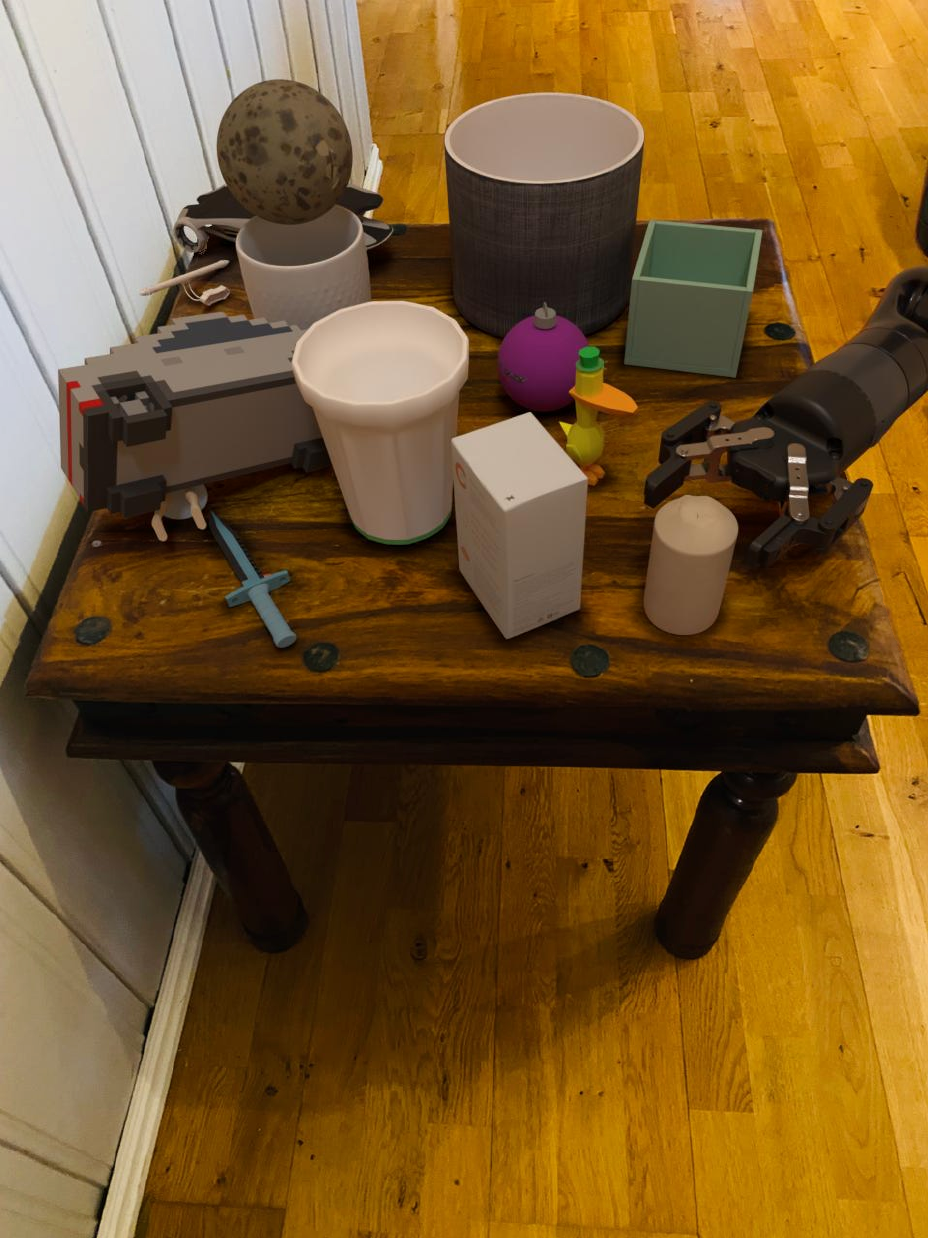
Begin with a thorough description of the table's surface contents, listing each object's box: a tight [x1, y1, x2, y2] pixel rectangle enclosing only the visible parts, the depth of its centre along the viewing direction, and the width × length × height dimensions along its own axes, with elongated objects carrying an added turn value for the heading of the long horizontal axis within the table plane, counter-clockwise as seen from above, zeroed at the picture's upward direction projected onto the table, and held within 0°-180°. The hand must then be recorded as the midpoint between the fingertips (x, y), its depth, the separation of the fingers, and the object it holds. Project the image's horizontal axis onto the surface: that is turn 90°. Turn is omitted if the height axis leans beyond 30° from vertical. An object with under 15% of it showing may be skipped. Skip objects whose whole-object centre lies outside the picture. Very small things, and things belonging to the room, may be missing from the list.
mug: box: [235, 205, 372, 330], centre depth 90 cm, size 15×11×13 cm
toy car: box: [57, 311, 333, 520], centre depth 77 cm, size 9×24×10 cm
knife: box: [208, 509, 298, 649], centre depth 76 cm, size 17×1×5 cm
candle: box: [643, 494, 739, 636], centre depth 69 cm, size 6×6×10 cm
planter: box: [443, 92, 646, 339], centre depth 94 cm, size 18×18×16 cm
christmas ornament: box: [496, 302, 590, 413], centre depth 85 cm, size 8×8×10 cm
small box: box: [451, 411, 589, 640], centre depth 70 cm, size 8×6×13 cm
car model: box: [172, 183, 394, 254], centre depth 106 cm, size 11×24×5 cm, turn 66°
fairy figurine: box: [151, 484, 208, 542], centre depth 80 cm, size 12×5×12 cm
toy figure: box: [558, 346, 639, 487], centre depth 77 cm, size 7×4×12 cm, turn 53°
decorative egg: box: [216, 78, 354, 225], centre depth 82 cm, size 11×11×15 cm
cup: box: [291, 300, 470, 546], centre depth 75 cm, size 12×12×15 cm
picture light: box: [139, 259, 231, 306], centre depth 101 cm, size 14×4×2 cm, turn 154°
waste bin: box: [623, 219, 763, 379], centre depth 90 cm, size 10×10×9 cm
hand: (698, 527), depth 67 cm, fingers open, 8 cm apart
